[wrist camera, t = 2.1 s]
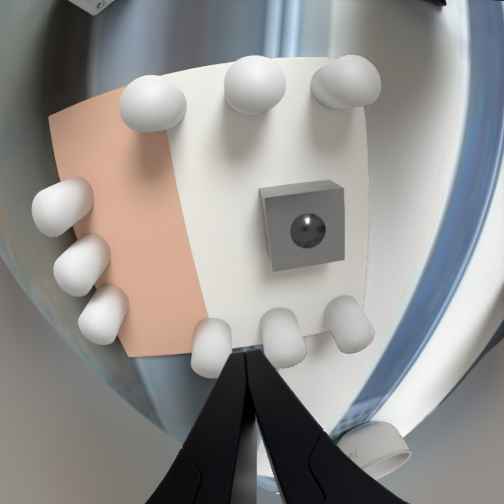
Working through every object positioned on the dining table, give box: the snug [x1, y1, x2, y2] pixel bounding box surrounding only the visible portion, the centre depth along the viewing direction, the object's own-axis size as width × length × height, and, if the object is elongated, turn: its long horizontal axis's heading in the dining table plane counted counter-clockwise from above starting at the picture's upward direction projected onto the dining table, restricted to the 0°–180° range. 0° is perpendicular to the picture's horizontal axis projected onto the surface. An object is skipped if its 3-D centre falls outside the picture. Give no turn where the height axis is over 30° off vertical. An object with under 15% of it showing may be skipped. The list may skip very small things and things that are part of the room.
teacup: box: [337, 421, 412, 480], centre depth 31 cm, size 14×11×8 cm
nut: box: [259, 180, 345, 272], centre depth 17 cm, size 4×4×2 cm
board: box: [32, 55, 382, 378], centre depth 17 cm, size 20×20×4 cm
